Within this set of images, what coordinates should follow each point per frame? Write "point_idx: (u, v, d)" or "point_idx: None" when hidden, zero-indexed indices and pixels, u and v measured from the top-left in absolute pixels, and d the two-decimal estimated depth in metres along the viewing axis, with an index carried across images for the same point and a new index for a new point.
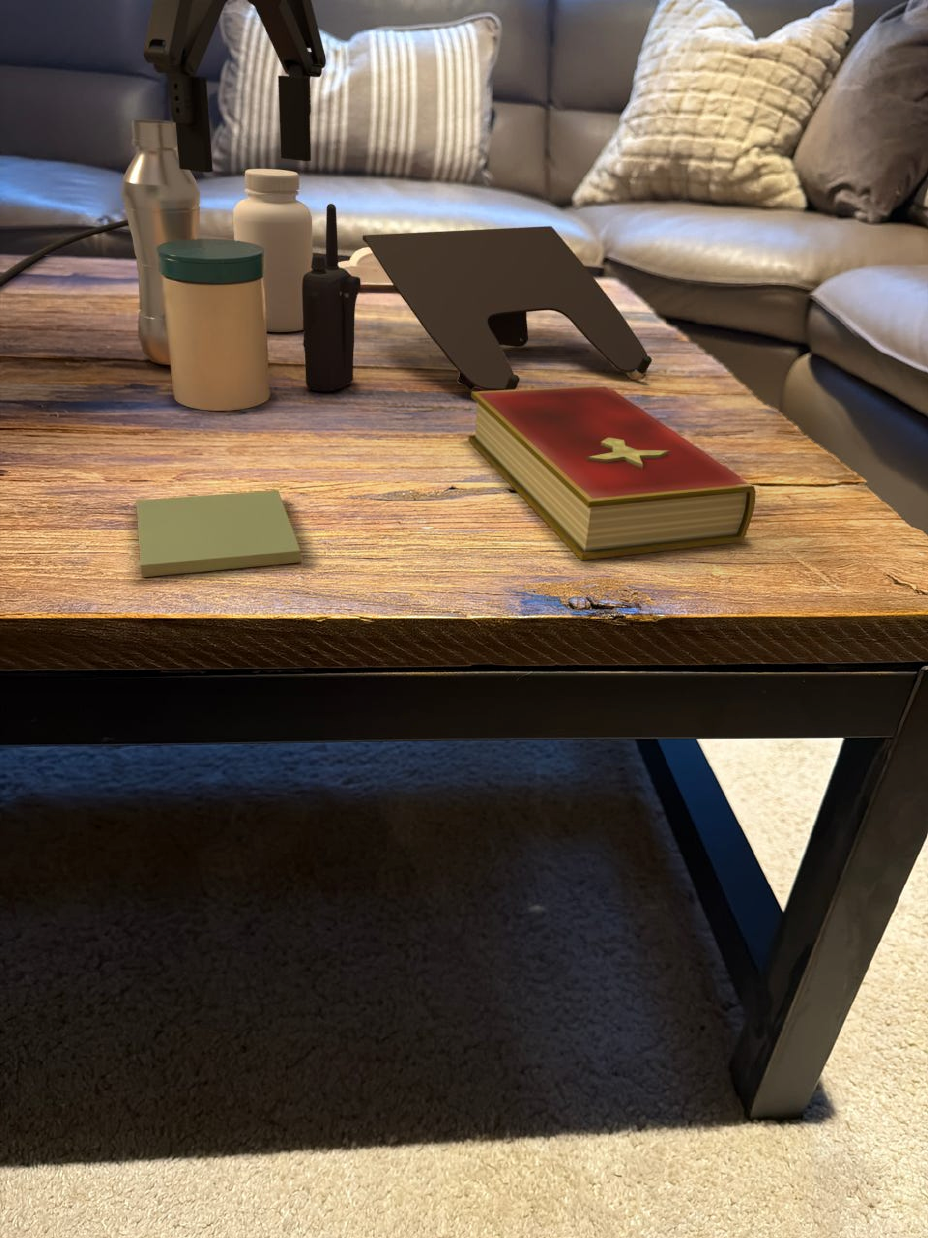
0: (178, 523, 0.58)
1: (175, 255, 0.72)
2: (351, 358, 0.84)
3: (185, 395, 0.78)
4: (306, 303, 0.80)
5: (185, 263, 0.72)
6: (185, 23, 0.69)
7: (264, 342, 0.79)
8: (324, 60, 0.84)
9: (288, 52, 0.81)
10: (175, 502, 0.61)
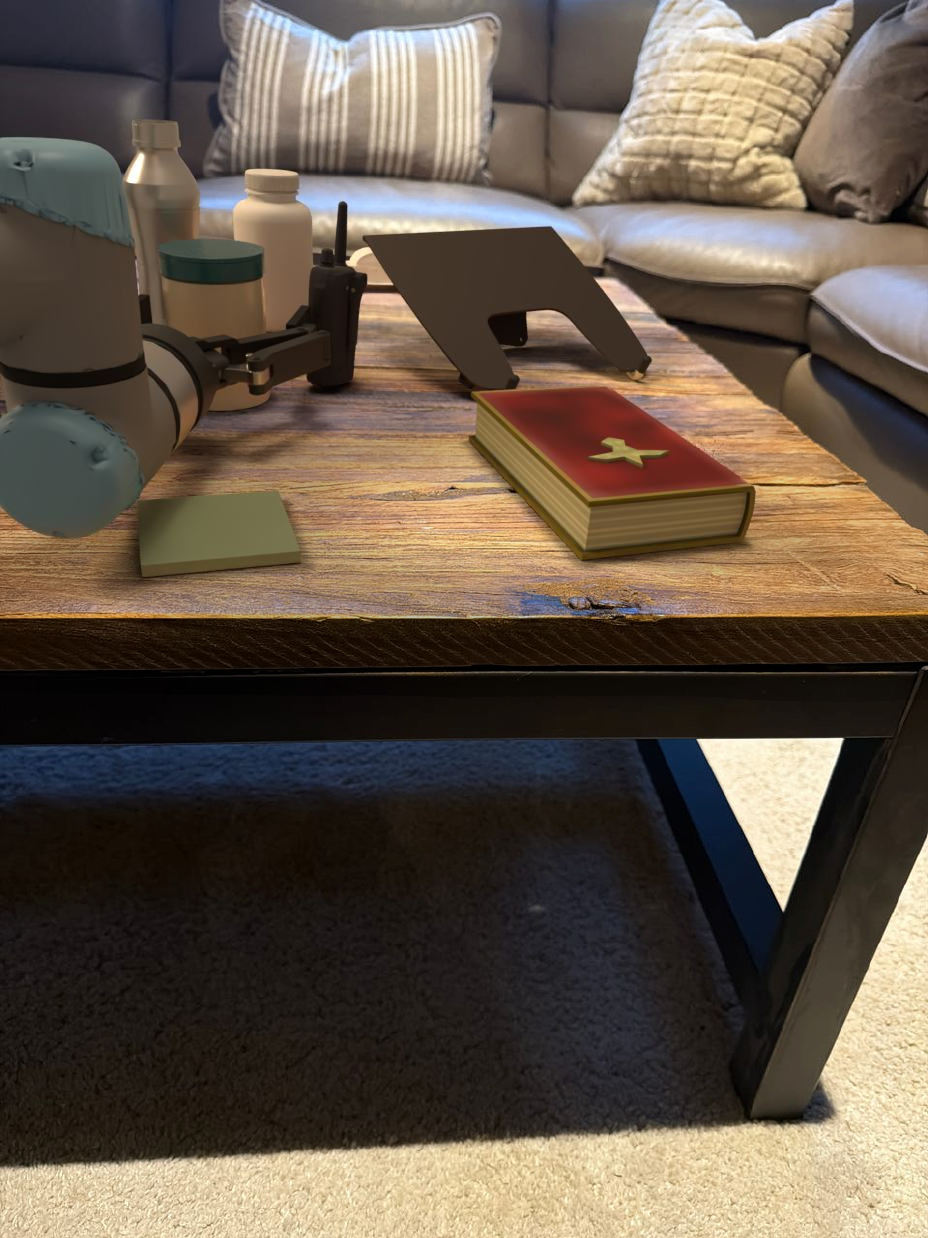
0: (178, 523, 0.58)
1: (175, 255, 0.72)
2: (353, 356, 0.84)
3: None
4: (312, 295, 0.80)
5: (185, 263, 0.72)
6: None
7: None
8: None
9: None
10: (175, 502, 0.61)
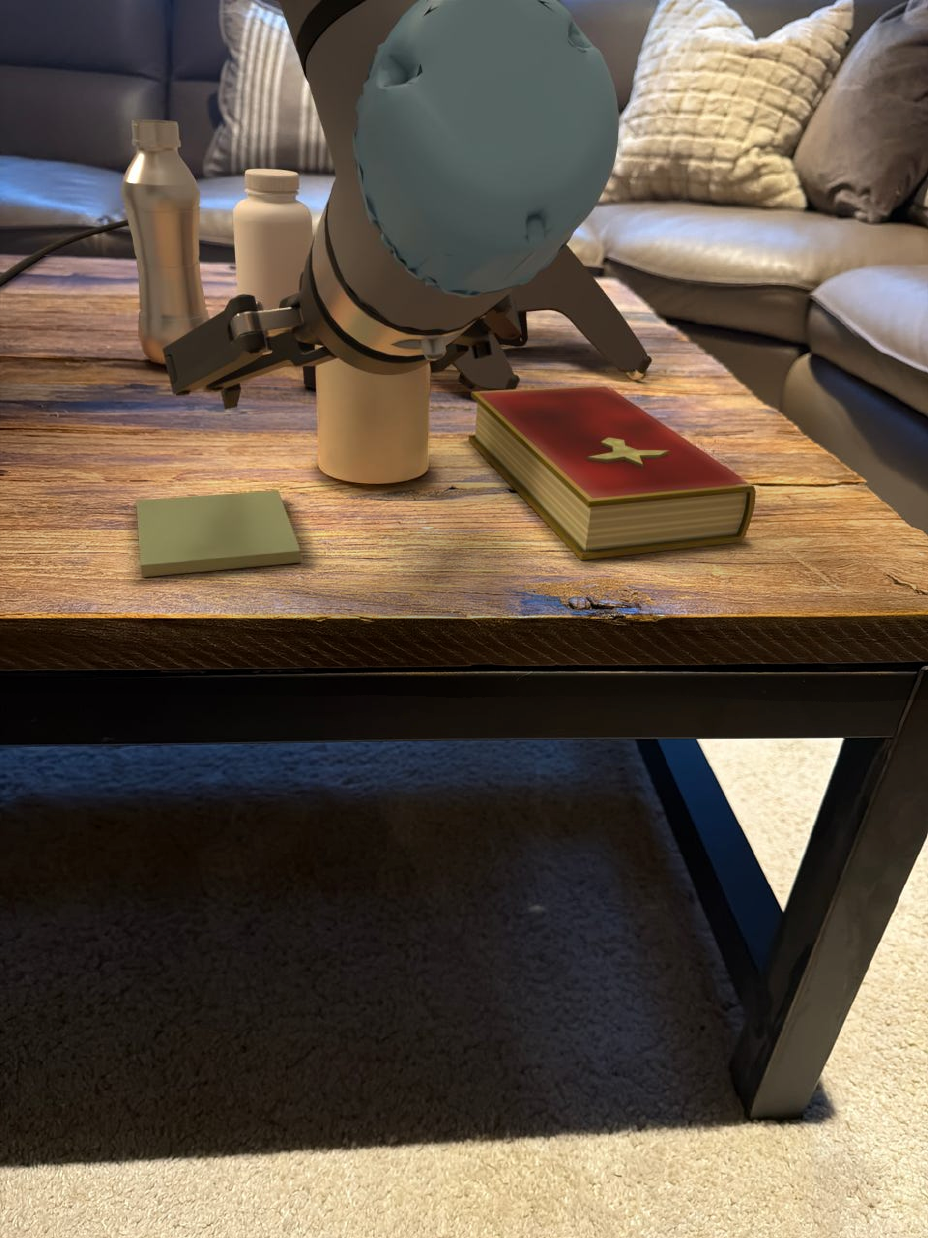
0: (178, 523, 0.58)
1: None
2: None
3: (338, 466, 0.66)
4: None
5: None
6: (211, 381, 0.50)
7: (429, 403, 0.67)
8: (515, 337, 0.56)
9: None
10: (175, 502, 0.61)
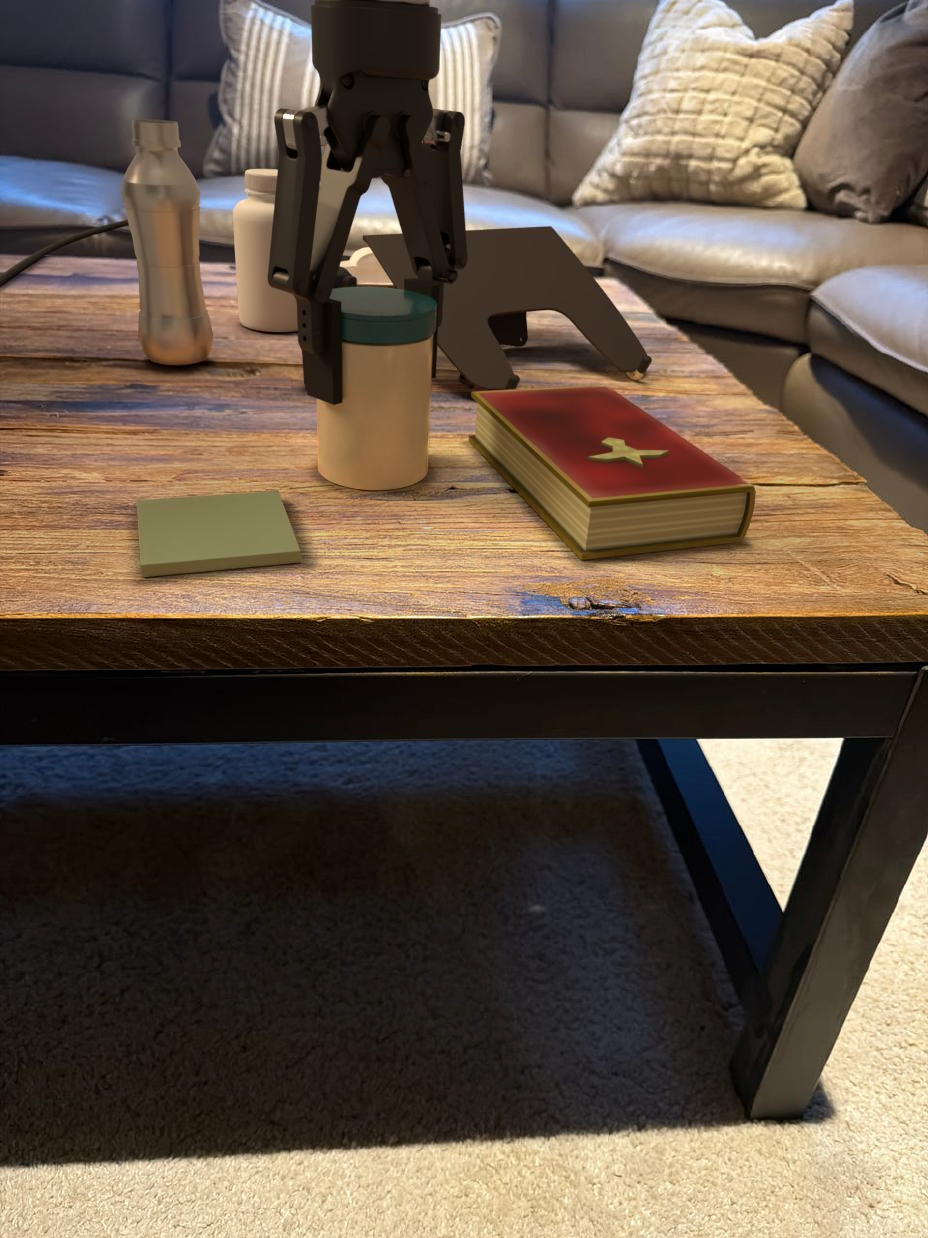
0: (178, 523, 0.58)
1: None
2: None
3: (330, 469, 0.66)
4: None
5: (342, 319, 0.60)
6: (310, 242, 0.56)
7: (426, 412, 0.66)
8: (464, 261, 0.66)
9: (419, 248, 0.64)
10: (175, 502, 0.61)
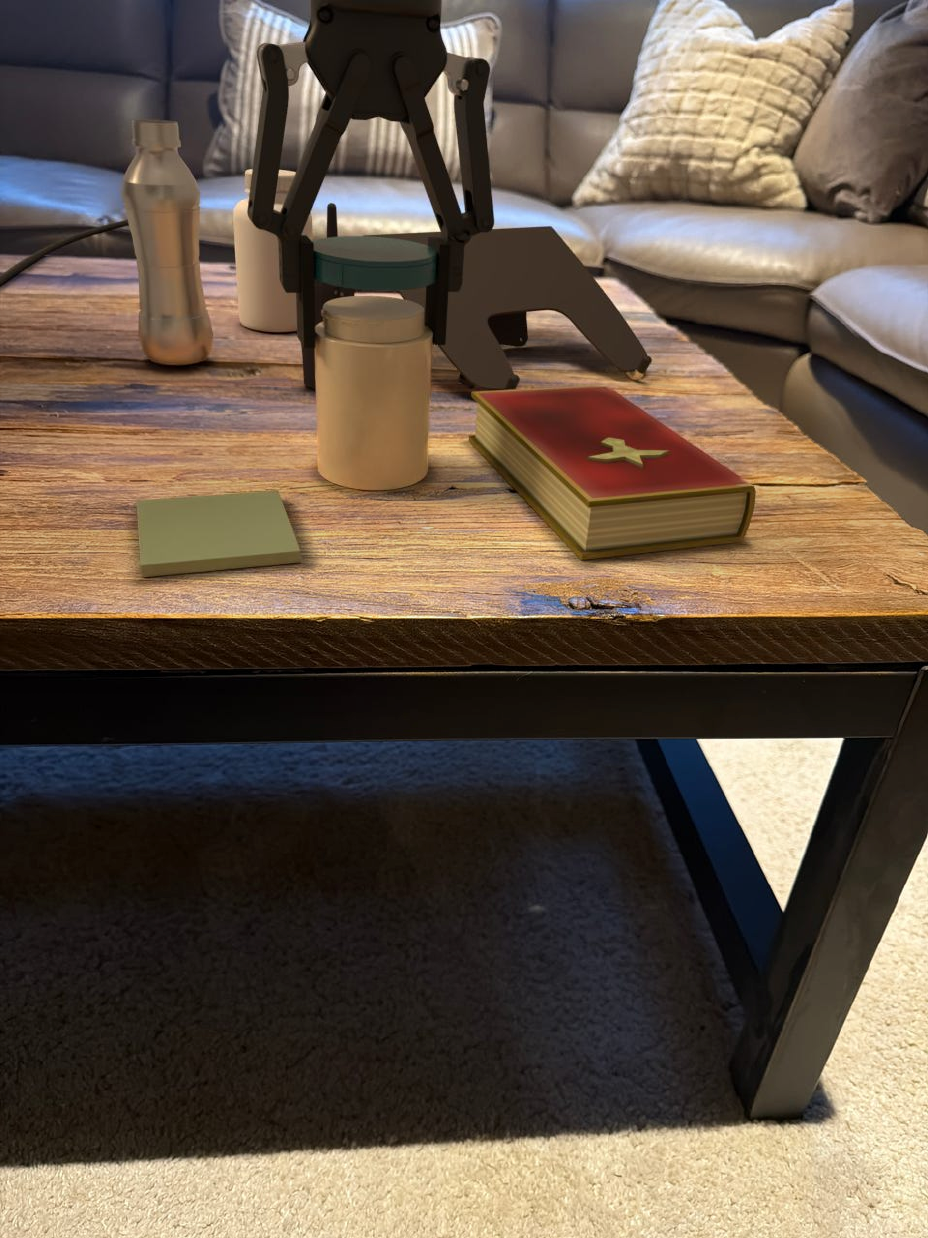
0: (178, 523, 0.58)
1: (431, 248, 0.63)
2: None
3: (330, 469, 0.66)
4: None
5: None
6: None
7: (426, 412, 0.66)
8: None
9: None
10: (175, 502, 0.61)
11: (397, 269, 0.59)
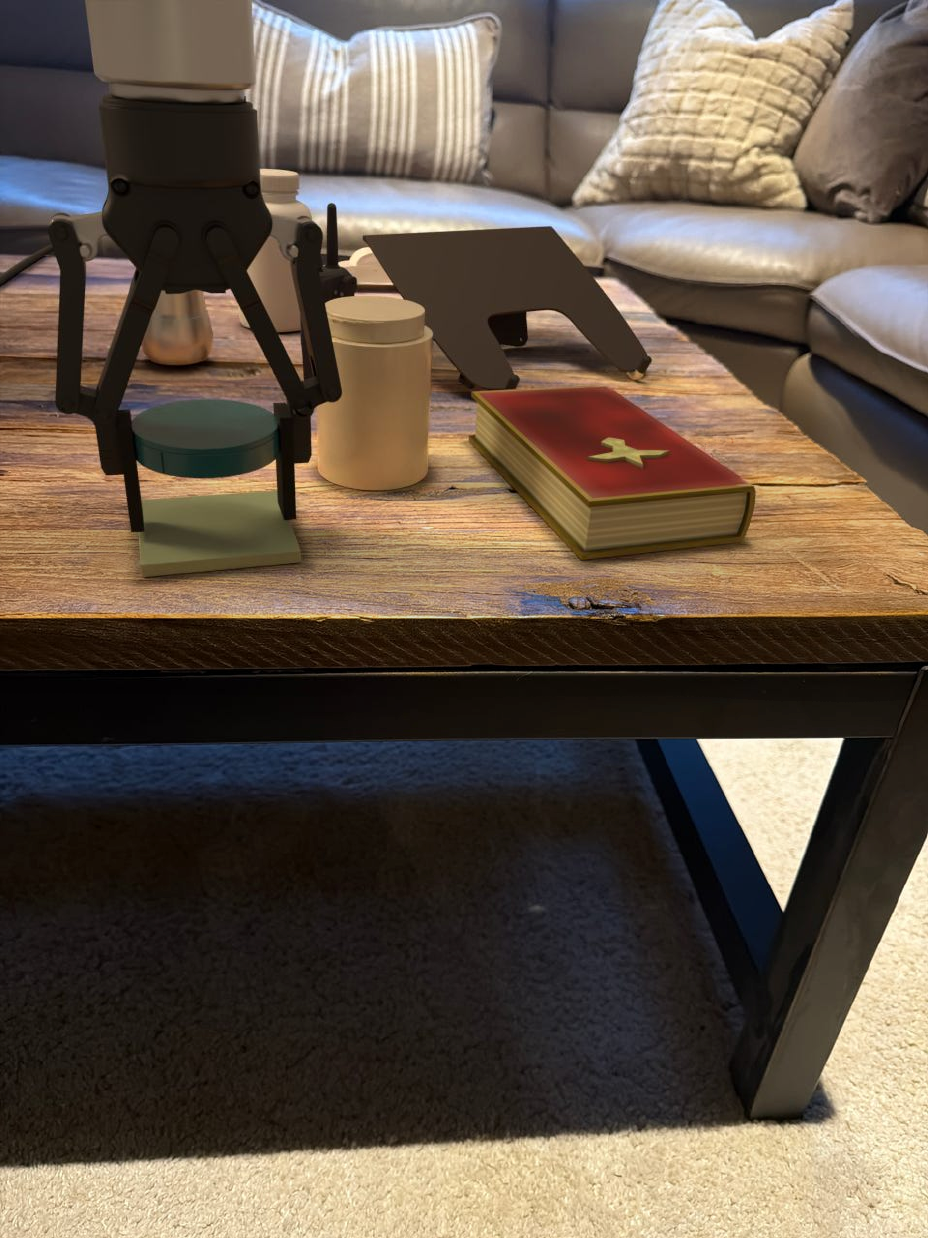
0: (178, 523, 0.58)
1: (274, 418, 0.56)
2: None
3: (330, 469, 0.66)
4: None
5: None
6: None
7: (426, 412, 0.66)
8: None
9: None
10: (175, 502, 0.61)
11: (224, 455, 0.52)
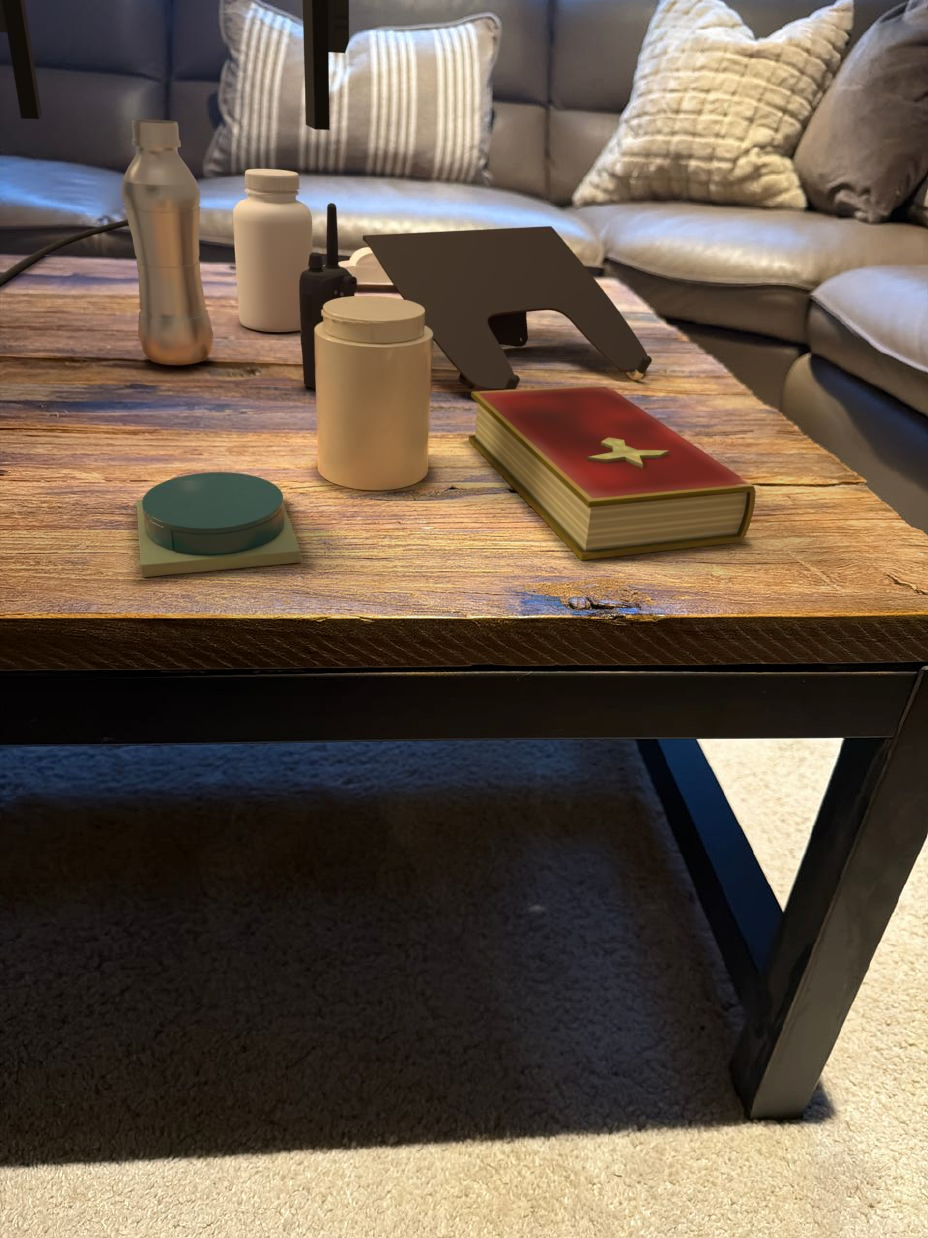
0: None
1: (279, 492, 0.59)
2: None
3: (330, 469, 0.66)
4: (301, 301, 0.80)
5: None
6: None
7: (426, 412, 0.66)
8: None
9: None
10: None
11: (231, 534, 0.55)
